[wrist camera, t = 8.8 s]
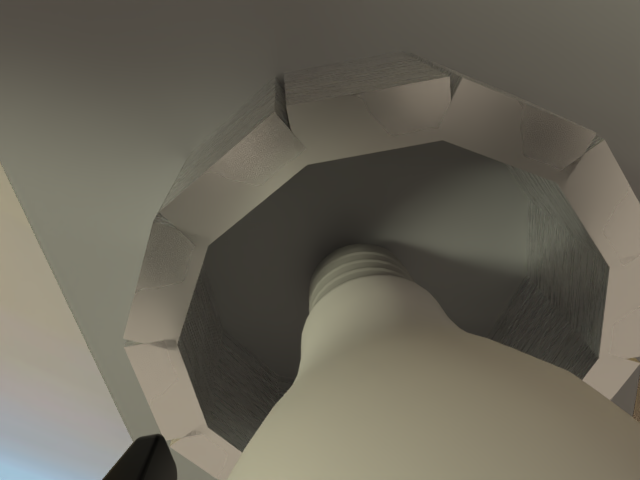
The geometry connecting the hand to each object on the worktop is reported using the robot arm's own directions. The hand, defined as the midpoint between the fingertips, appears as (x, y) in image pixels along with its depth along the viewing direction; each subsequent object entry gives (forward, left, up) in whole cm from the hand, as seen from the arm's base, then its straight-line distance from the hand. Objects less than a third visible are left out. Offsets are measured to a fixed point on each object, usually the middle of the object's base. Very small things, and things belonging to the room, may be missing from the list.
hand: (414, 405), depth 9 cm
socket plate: (0, 0, -6) cm, 6 cm away
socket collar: (0, 0, -5) cm, 5 cm away
